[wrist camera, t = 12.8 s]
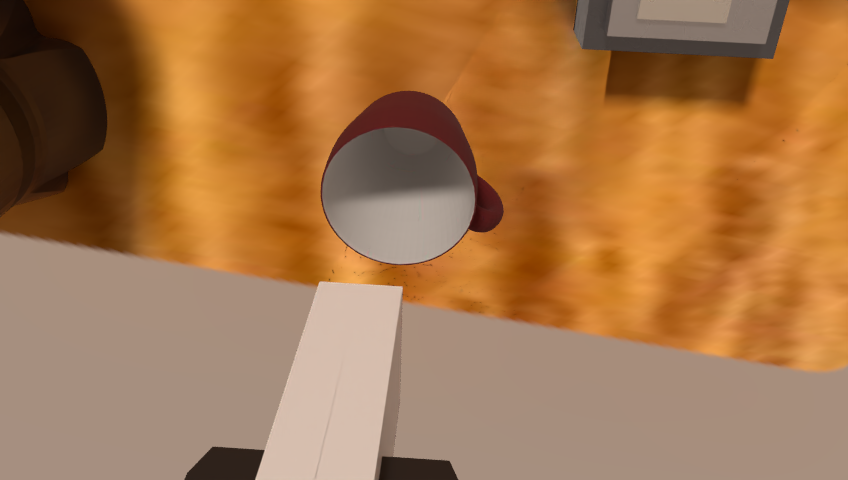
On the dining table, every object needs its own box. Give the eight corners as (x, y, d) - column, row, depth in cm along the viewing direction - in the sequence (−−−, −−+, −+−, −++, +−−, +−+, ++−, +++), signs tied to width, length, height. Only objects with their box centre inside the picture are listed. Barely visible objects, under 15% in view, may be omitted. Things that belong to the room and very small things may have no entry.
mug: (535, 116, 45) (550, 189, 37) (474, 218, 49) (474, 305, 40) (379, 39, 43) (356, 97, 35) (329, 152, 47) (297, 228, 39)
